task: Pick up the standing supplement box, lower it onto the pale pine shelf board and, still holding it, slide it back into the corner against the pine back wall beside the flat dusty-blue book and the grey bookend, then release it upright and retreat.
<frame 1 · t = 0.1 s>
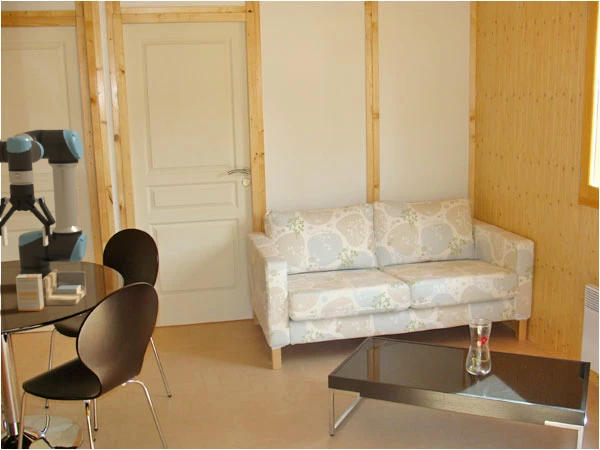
hand: (25, 245, 238), 28 cm above the table, fingers open, 13 cm apart
shelf: (65, 299, 273), on the table
flat book: (69, 296, 276), resting on shelf
supplement box: (31, 309, 259), on the table
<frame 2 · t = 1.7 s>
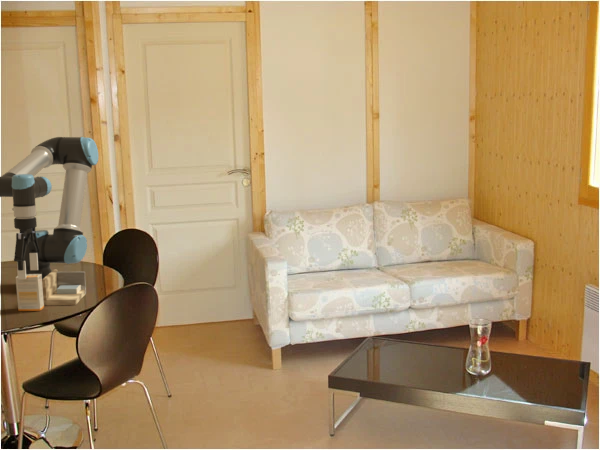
hand: (28, 274, 257), 13 cm above the table, fingers open, 13 cm apart
nothing on the table moved.
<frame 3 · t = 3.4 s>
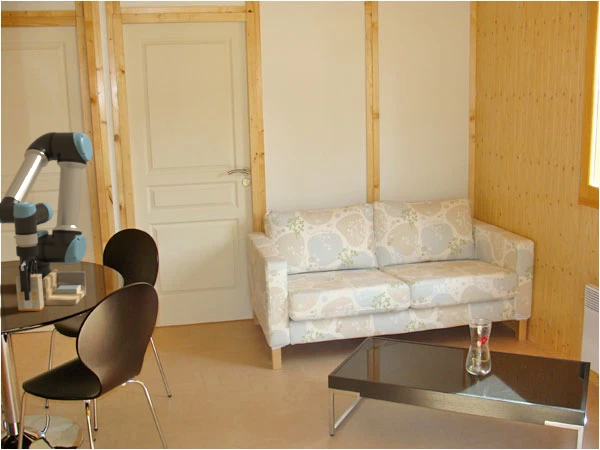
hand: (30, 306, 259), 1 cm above the table, fingers closed on supplement box, 5 cm apart
supplement box: (31, 309, 259), on the table, touching gripper
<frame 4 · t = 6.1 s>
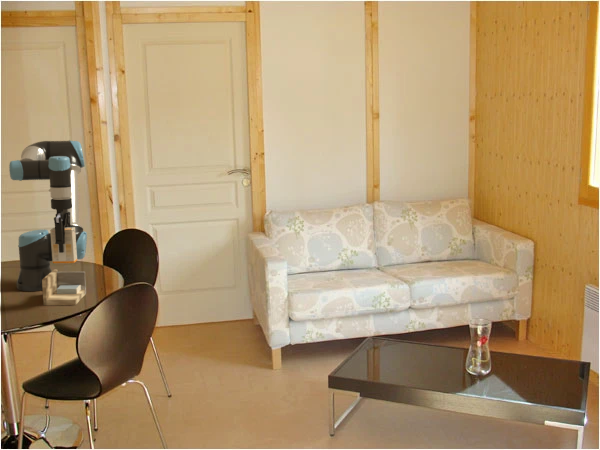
hand: (64, 258, 265), 17 cm above the table, fingers closed on supplement box, 5 cm apart
supplement box: (64, 262, 265), point 16 cm above the table, touching gripper
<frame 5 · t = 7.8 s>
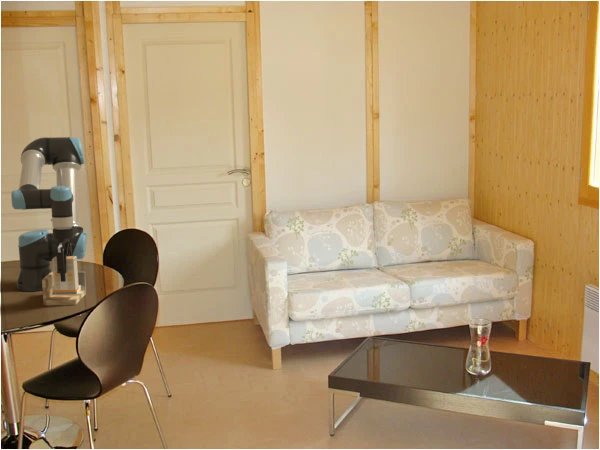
hand: (66, 287, 267), 6 cm above the table, fingers closed on supplement box, 5 cm apart
supplement box: (66, 291, 267), point 5 cm above the table, touching gripper
when the fingers open (4 cm above the table, at t = 9.2 s): supplement box stays where it is, resting on shelf.
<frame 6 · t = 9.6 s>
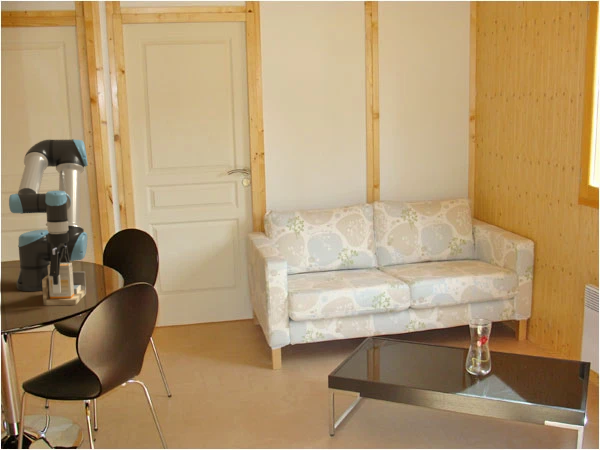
hand: (61, 288, 268), 5 cm above the table, fingers open, 11 cm apart
supplement box: (62, 297, 268), point 2 cm above the table, touching shelf
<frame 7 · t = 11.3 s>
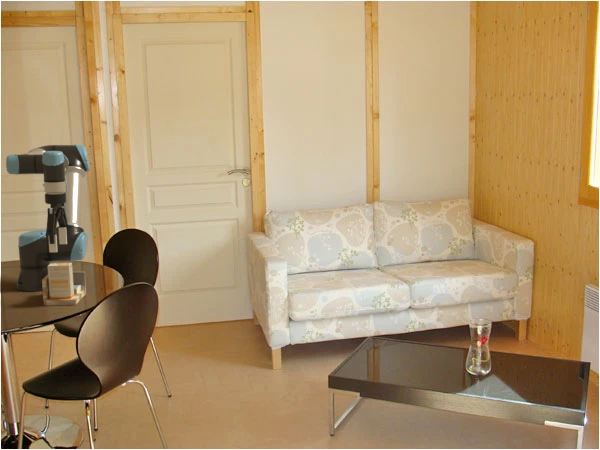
hand: (58, 248, 266), 21 cm above the table, fingers open, 13 cm apart
nothing on the table moved.
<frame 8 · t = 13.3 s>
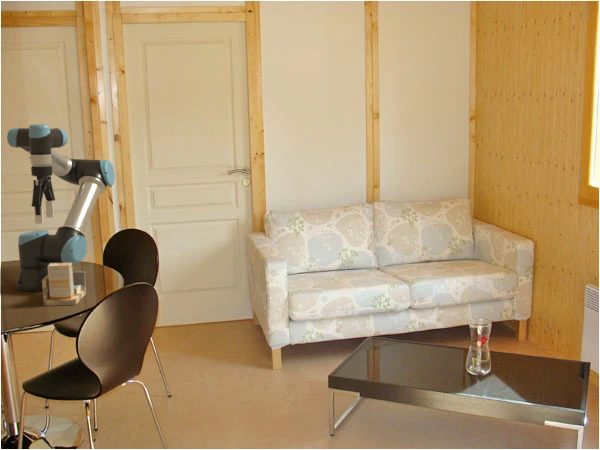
hand: (44, 220, 270), 31 cm above the table, fingers open, 13 cm apart
nothing on the table moved.
at the end: supplement box 0.9 cm from the target spot, point 1.8 cm above the table; supplement box tilted 0°; supplement box touching shelf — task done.
